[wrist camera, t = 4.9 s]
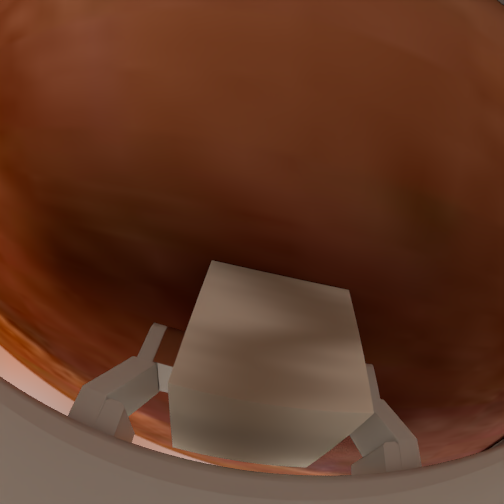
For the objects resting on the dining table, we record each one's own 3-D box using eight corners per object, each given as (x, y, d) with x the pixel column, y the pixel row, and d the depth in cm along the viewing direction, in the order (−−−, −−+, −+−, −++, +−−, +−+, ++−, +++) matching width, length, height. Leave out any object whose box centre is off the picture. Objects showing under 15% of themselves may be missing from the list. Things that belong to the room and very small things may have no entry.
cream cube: (348, 290, 10) (374, 413, 6) (305, 369, 13) (305, 467, 9) (211, 260, 10) (167, 383, 6) (200, 348, 13) (173, 447, 8)
